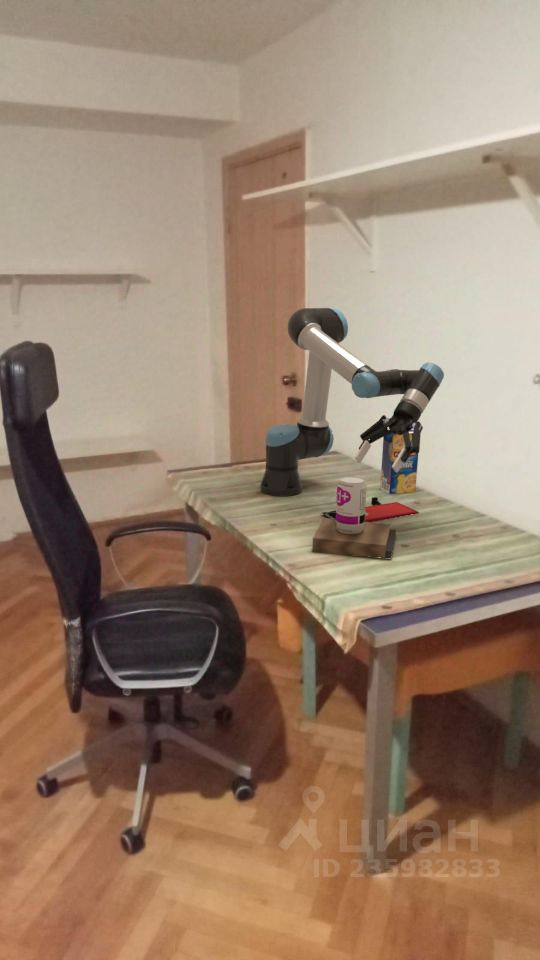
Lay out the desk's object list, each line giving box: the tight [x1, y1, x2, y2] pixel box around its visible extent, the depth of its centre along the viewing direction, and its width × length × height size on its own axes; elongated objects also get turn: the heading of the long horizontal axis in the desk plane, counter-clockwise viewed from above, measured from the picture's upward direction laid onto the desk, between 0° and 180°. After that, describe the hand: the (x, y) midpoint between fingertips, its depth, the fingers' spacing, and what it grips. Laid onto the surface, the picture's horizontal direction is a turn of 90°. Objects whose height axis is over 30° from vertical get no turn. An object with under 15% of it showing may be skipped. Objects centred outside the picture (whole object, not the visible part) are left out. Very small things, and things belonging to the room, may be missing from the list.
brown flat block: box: [311, 517, 397, 559], centre depth 191 cm, size 22×18×4 cm
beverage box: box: [379, 429, 419, 495], centre depth 243 cm, size 7×11×22 cm, turn 111°
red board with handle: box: [321, 496, 420, 522], centre depth 219 cm, size 30×3×15 cm
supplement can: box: [335, 476, 368, 534], centre depth 189 cm, size 8×8×15 cm
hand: (375, 464), depth 193 cm, fingers open, 13 cm apart
